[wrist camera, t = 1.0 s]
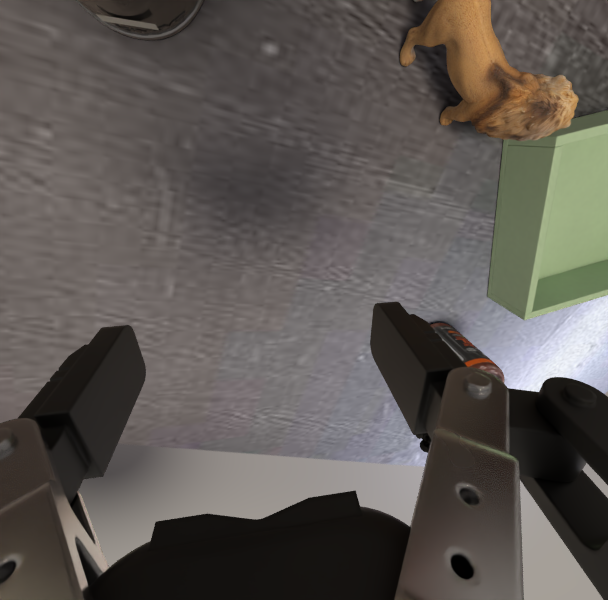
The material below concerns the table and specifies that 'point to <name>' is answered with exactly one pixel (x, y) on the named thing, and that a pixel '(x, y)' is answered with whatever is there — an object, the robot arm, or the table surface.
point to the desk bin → (552, 220)
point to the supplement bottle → (466, 350)
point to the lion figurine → (490, 76)
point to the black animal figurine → (424, 441)
